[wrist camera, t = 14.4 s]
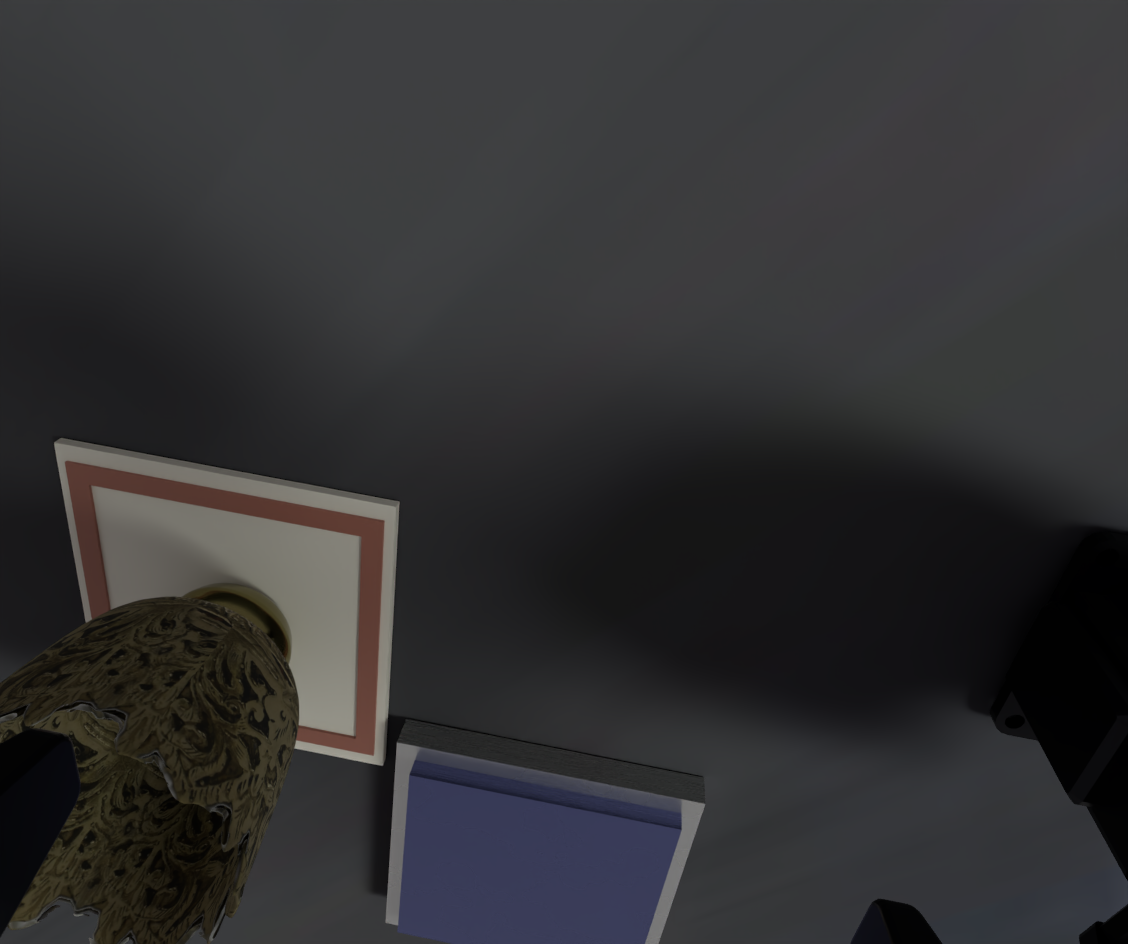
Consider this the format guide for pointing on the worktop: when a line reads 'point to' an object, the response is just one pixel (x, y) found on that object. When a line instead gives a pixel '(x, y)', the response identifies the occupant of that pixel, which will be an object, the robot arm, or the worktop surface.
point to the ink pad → (533, 841)
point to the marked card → (250, 569)
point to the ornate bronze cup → (162, 758)
